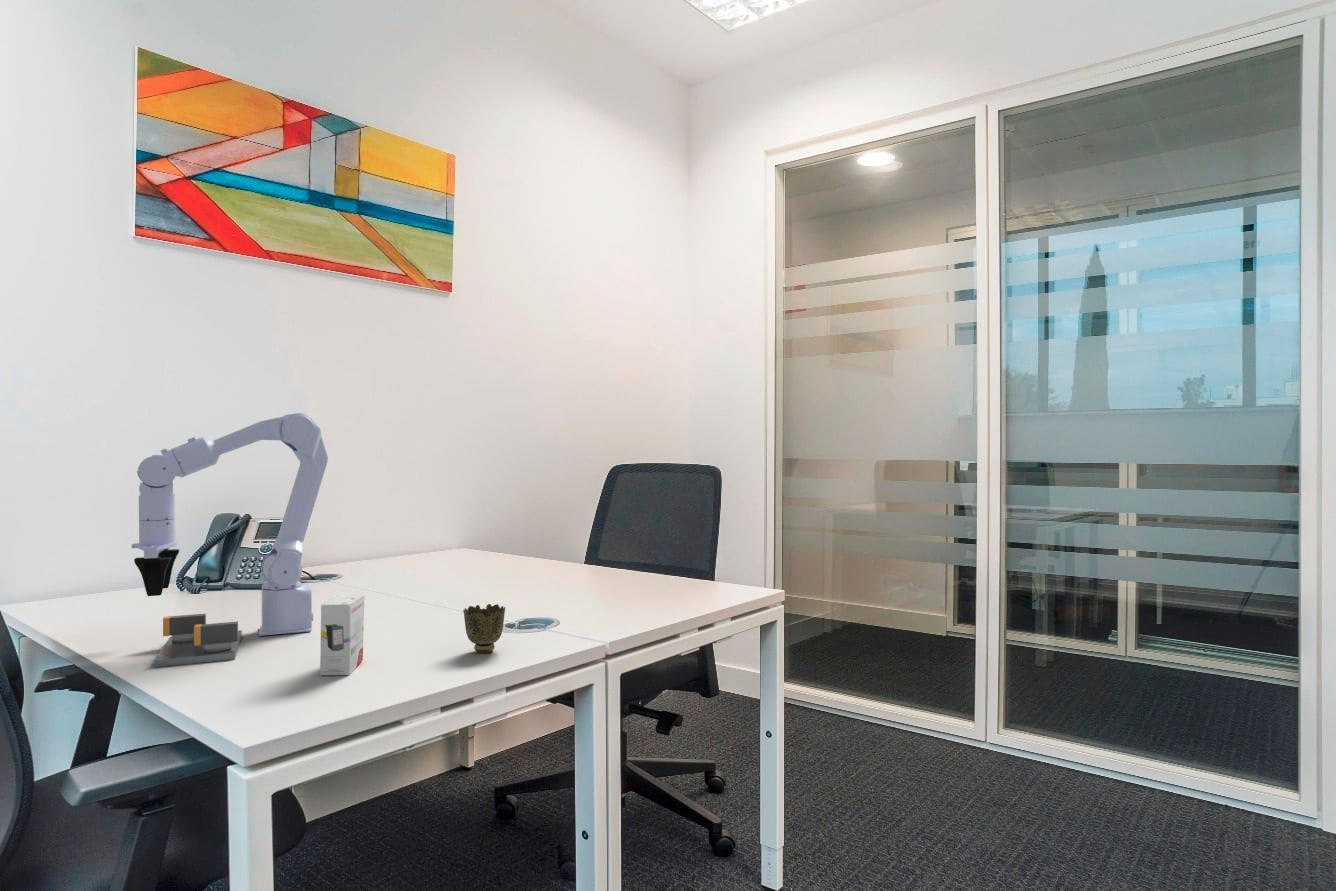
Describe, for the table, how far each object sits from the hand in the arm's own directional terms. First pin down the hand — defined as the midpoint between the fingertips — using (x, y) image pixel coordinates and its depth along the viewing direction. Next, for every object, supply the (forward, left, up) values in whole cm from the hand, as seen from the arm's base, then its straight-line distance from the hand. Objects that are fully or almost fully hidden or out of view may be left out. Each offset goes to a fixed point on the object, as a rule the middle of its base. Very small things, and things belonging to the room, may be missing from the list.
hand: (158, 591), depth 148 cm
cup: (-55, +30, -10) cm, 63 cm away
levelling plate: (-8, +8, -10) cm, 15 cm away
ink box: (-31, +31, -10) cm, 44 cm away
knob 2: (-11, +13, -9) cm, 19 cm away
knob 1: (-5, +3, -9) cm, 10 cm away
